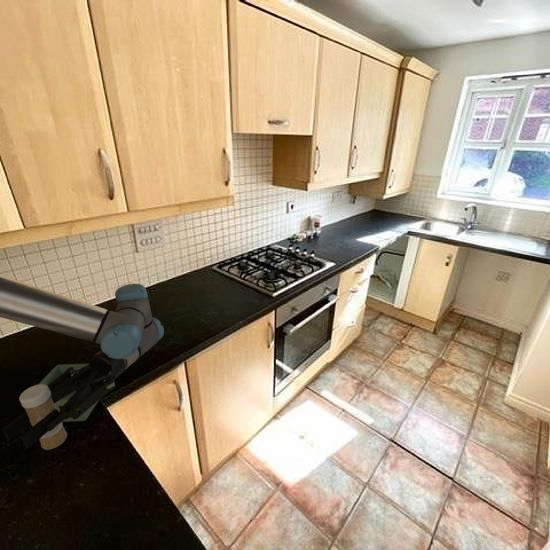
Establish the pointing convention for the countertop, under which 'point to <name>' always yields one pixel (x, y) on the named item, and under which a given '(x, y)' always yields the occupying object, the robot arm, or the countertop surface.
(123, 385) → the countertop surface
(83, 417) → the bin
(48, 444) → the sprinkles bottle
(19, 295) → the robot arm
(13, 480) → the countertop surface
